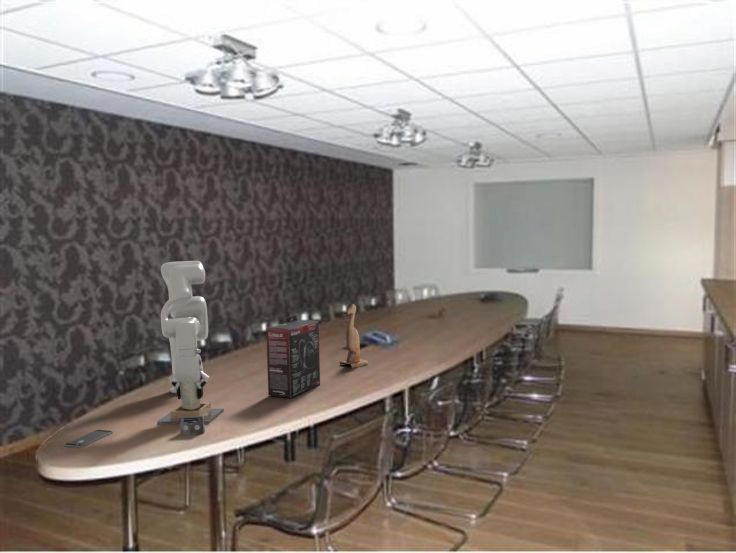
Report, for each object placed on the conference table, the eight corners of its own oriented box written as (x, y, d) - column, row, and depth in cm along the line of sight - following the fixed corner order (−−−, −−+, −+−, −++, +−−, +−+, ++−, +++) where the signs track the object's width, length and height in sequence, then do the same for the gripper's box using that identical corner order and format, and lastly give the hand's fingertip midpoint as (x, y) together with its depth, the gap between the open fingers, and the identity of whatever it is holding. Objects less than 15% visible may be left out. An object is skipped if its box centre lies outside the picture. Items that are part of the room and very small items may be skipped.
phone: (97, 432, 223) (62, 447, 208) (97, 429, 223) (62, 444, 207) (114, 433, 220) (80, 449, 205) (114, 430, 220) (80, 446, 205)
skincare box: (200, 407, 235) (198, 376, 234) (191, 410, 231) (189, 378, 230) (189, 405, 238) (187, 374, 237) (180, 408, 234) (178, 377, 233)
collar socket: (175, 411, 244) (174, 401, 244) (223, 411, 241) (223, 401, 241) (157, 424, 228) (156, 413, 228) (208, 423, 226) (208, 413, 225)
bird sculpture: (338, 366, 315) (334, 305, 312) (355, 361, 323) (351, 301, 320) (352, 369, 307) (348, 306, 303) (369, 364, 315) (366, 303, 311)
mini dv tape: (204, 432, 217) (203, 415, 216) (203, 433, 215) (202, 417, 215) (181, 432, 217) (180, 416, 216) (180, 434, 215) (179, 417, 215)
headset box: (298, 382, 282) (295, 312, 280) (322, 384, 277) (319, 312, 274) (267, 396, 260) (263, 320, 258) (292, 399, 255) (288, 321, 252)
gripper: (212, 350, 236) (215, 395, 237) (169, 351, 238) (172, 395, 239) (205, 354, 228) (208, 400, 229) (161, 355, 230) (164, 401, 231)
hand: (190, 397), depth 234 cm, fingers closed on skincare box, 7 cm apart
